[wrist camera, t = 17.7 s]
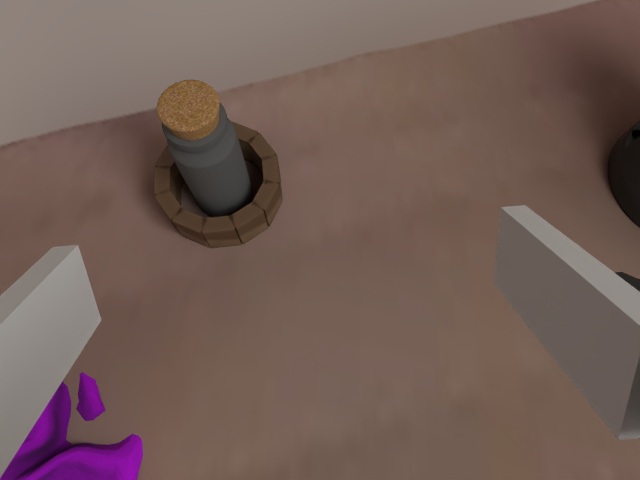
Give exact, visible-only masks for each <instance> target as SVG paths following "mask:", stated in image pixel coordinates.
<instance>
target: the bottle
mask: <svg viewBox="0 0 640 480" xmlns="http://www.w3.org/2000/svg"><path fill="white" fill-rule="evenodd" d="M157 113H158V116H159V119H160V120H161V122H162V128H163V131H164V133H165V136H166V137H167V143H168V149H169V151H170V154H171V156H172V158H173V160H174V162H175V163H176V165H177V167H178V169H179V171H180V173H181V174H182V176H183V178H184V180H185V182H186V183H187V185H188V187H189V189H190V191H191V192H192V194H193V196H194V198H195V199H196V201H197V203H198V205H199V206H200V208H201V209H202V210H203V211H204V212H205V213H206V214H208V215H210V216H212V217H221V216H231V215H232V214H234V213H236V212H237V211H239V210H240V209H242V208H243V207H245V206H247V205H248V204H249V203H250V200H251V197H252V187H251V182H250V179H249V175H248V171H247V168H246V164H245V161H244V157H243V154H242V150H241V147H240V143H239V140H238V137H237V134H236V131H235V128H234V126H233V124H232V122H231V121H230V120H229V119H228V118H227V115H226V112H225V109H224V107H223V106H222V104H221V103H220V102H219V98H218V95H217V93H216V91H215V90H214V89H213V88H212V87H211V86H210V85H208V84H206V83H204V82H201V81H197V80H184V81H180V82H178V83H175V84H173V85H171V86H170V87H168V88H167V89H166V90H165V91H164V92H163V93H162V95H161V96H160V98H159V100H158V104H157Z"/></svg>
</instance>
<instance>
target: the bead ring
mask: <svg viewBox="0 0 640 480" xmlns="http://www.w3.org/2000/svg"><path fill="white" fill-rule="evenodd" d="M232 124H233V126H234V128H235V131H236V134H237V137H238V140H239V143H240V147H241V150H242V154H243V157H244V159H245V160H248V161H250V162H253V163H254V164H255V165H256V166H257V168H258V169H259V170H260V171H261V173H262V174H263V179H264V181H263V183H262V185H261V187H260V189H259V191H258V192H257V194H256V196H255V198H254V200H253V202H251V203H250V204H248V205H247V206H245V207H243V208H242V209H240V210H239V211H237V212H236V213H234V214H232V215H231V216H221V217H211V218H204V217H201V216H199V215H197V214H194V213H192V212H189V211H187V210H185V209H182V207H181V186H182V185H183V183H184V181H185V180H184V178H183V176H182V174H181V173H180V171H179V169H178V167H177V165H176V163H175V162H174V160H173V158H172V156H171V154H170V151H169V149H168V146H167V147H166V149H165V150H164V152H163V153H162V155H161V156H160V158H159V160H158V161H157V163H156V164H155V166H156V167H154V195H155V198H156V199H157V201H158V202H159V204H160V205H161V207H162V208H163V210H164V211H165V213H166V214H167V216H168V217H169V219H170V220H171V221H172V223H173V224H174V225H175V227H176V228H177V230H178V231H179V232H180V234H181V235H182V236H183V237H186V238H188V239H190V240H192V241H195V242H197V243H199V244H202V245H204V246H206V247H211V248H217V247H227V246H237V245H241V242H242V243H243V244H245V243H246V242H248V241H249V240H251V239H252V238H254V237H255V236H257V235H258V234H260V233H261V232H263V231H264V230H266V229H267V228H268V226H270V224H271V223H272V221H273V219H274V217H275V215H276V213H277V211H278V209H279V207H280V205H281V203H282V190H281V179H280V171H279V165H278V158H277V155H276V153H275V151H274V150H273V149H272V148H271V146H270V145H269V144H268V143H267V141H266V140H265V139H264V138H263V136H262V135H261V134H260V133H258V131H255V130H252V129H250V128H247V127H245V126H242V125H239V124H237V123H234V122H232Z"/></svg>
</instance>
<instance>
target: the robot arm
mask: <svg viewBox="0 0 640 480" xmlns="http://www.w3.org/2000/svg"><path fill="white" fill-rule="evenodd" d="M608 174H609V180H610V184H611V188H612V190H613V193H614V195H615V197H616V199H617V201H618V202H619V204H620V205H621V207H622V208H623V210H624V211H625V212H626V213H627V215H628V216H629V217H630V218H631V219H632V220H633V221H634V222H635V223H636V224H638V225H639V226H640V121H639V122H637V123H636V124H635V125H634V126H632V127H631V128H630V129H629V130H628V131H627V132H626V133H625V134H624V135H623V136H622V137H621V138H620V139H619V140H618V141H617V143H616V144H615V146H614V147H613V149H612V152H611V154H610V158H609V164H608ZM494 285H495V286H496V287H497V289H498V290H499V291H500V292H501V294H502V295H503V296H504V297H505V299H506V300H507V301H508V302H509V304H510V305H511V306H512V307H513V309H514V310H515V311H516V312H517V314H518V315H519V316H520V317H521V319H522V320H523V321H524V322H525V324H526V325H527V326H528V328H529V329H530V330H531V331H532V333H533V334H534V335H535V336H536V338H537V339H538V340H539V341H540V343H541V344H542V345H543V346H544V348H545V349H546V350H547V351H548V353H549V354H550V355H551V356H552V358H553V359H554V360H555V361H556V363H557V364H558V365H559V366H560V368H561V369H562V370H563V371H564V373H565V374H566V375H567V376H568V378H569V379H570V380H571V381H572V383H573V384H574V385H575V387H576V388H577V389H578V390H579V392H580V393H581V394H582V395H583V397H584V398H585V399H586V400H587V402H588V403H589V404H590V405H591V407H592V408H593V409H594V410H595V412H596V413H597V414H598V415H599V417H600V418H601V419H602V420H603V422H604V423H605V424H606V425H607V427H608V428H609V429H610V430H611V432H612V433H613V434H614V435H615V437H616V438H617V439H618V440H623V439H633V438H640V279H637V278H635V277H632V276H630V275H628V274H625V273H623V272H616V273H614V272H613V271H612V270H610V269H609V268H608V267H606V266H605V265H604V264H602V263H601V262H600V261H598V260H597V259H596V258H594V257H593V256H592V255H590V254H589V253H588V252H586V251H585V250H584V249H582V248H581V247H580V246H578V245H577V244H576V243H574V242H573V241H572V240H570V239H569V238H568V237H566V236H565V235H564V234H562V233H561V232H560V231H559V230H557V229H556V228H555V227H553V226H552V225H551V224H549V223H548V222H547V221H545V220H544V219H543V218H541V217H540V216H539V215H537V214H536V213H535V212H533V211H532V210H531V209H529V208H528V207H527V206H525V205H521V206H509V207H501V210H500V221H499V232H498V243H497V254H496V265H495V276H494ZM100 322H101V317H100V314H99V311H98V308H97V304H96V301H95V298H94V295H93V291H92V288H91V285H90V282H89V279H88V275H87V272H86V269H85V266H84V263H83V259H82V256H81V253H80V250H79V246H78V245H70V246H59V247H52V248H51V249H50V250H49V251H48V252H47V253H46V254H45V255H44V256H43V257H42V258H40V259H39V260H38V261H37V262H36V263H35V264H34V265H33V266H32V267H31V268H30V269H29V270H27V271H26V272H25V273H24V274H23V275H22V276H21V277H20V278H19V279H18V280H17V281H16V282H15V283H13V284H12V285H11V286H10V287H9V288H8V289H7V290H6V291H5V292H4V293H3V294H2V295H1V296H0V478H1V476H2V475H3V473H4V471H5V470H6V468H7V467H8V465H9V464H10V462H11V461H12V459H13V457H14V456H15V454H16V453H17V451H18V450H19V448H20V447H21V445H22V443H23V442H24V440H25V439H26V437H27V436H28V434H29V433H30V431H31V429H32V428H33V426H34V425H35V423H36V422H37V420H38V418H39V417H40V415H41V414H42V412H43V411H44V409H45V408H46V406H47V404H48V403H49V401H50V400H51V398H52V397H53V395H54V394H55V392H56V390H57V389H58V387H59V386H60V384H61V383H62V381H63V380H64V378H65V376H66V375H67V373H68V372H69V370H70V369H71V367H72V366H73V364H74V362H75V361H76V359H77V358H78V356H79V355H80V353H81V351H82V350H83V348H84V347H85V345H86V344H87V342H88V341H89V339H90V337H91V336H92V334H93V333H94V331H95V330H96V328H97V327H98V325H99V323H100Z"/></svg>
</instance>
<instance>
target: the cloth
mask: <svg viewBox="0 0 640 480" xmlns="http://www.w3.org/2000/svg"><path fill="white" fill-rule="evenodd" d="M78 398H79V403H78V406H77V408H76V409H77V410H78V412H79V413H80V415H81V416H82V417H83V419H84V420H85V421H90V420H94V419H95V418H96V417H98V416H99V415H100V414H102V413H103V412H104V411H105V408H104V405H103V403H102V401H101V399H100V395H99V391H98V387H97V384H96V380H95V379H93V378H91V377H89V376H88V375H86V374H84V373H83V372H82V373H81V374H80V383H79V391H78ZM70 412H71V400H70V396H69V391H68V387H67V386H66V385H65V384H64V383H63V381H62V383H61V384H60V386H59V387H58V389H57V390H56V392H55V394H54V395H53V397H52V398H51V400H50V401H49V403H48V404H47V406H46V408H45V409H44V411H43V412H42V414H41V415H40V417H39V418H38V420H37V422H36V423H35V425H34V426H33V428H32V429H31V431H30V433H29V434H28V436H27V437H26V439H25V440H24V442H23V443H22V445H21V447H20V448H19V450H18V451H17V453H16V454H15V456H14V457H13V459H12V461H11V462H10V464H9V465H8V467H7V468H6V470H5V471H4V473H3V475H2V476H1V478H0V480H137V476H138V472H139V467H140V463H141V460H142V456H143V451H142V440H141V438H140V437H139V436H137V435H133V434H131V435H130V436H128V437H127V438H125V439H124V440H122V441H121V442H119V443H116V444H111V445H97V444H91V443H81V444H75V445H71V444H70V443H69V442H68V441H67V440H66V435H67V427H68V423H69V418H70Z"/></svg>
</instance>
